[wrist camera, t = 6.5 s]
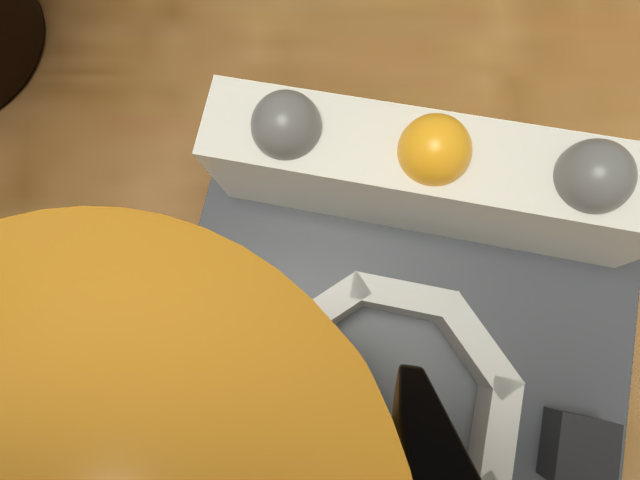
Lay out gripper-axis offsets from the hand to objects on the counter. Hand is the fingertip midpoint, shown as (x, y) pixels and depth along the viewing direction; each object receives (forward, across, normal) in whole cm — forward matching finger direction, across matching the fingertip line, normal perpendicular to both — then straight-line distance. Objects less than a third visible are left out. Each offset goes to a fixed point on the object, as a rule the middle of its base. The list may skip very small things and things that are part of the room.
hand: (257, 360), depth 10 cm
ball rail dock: (+10, -3, +9) cm, 14 cm away
